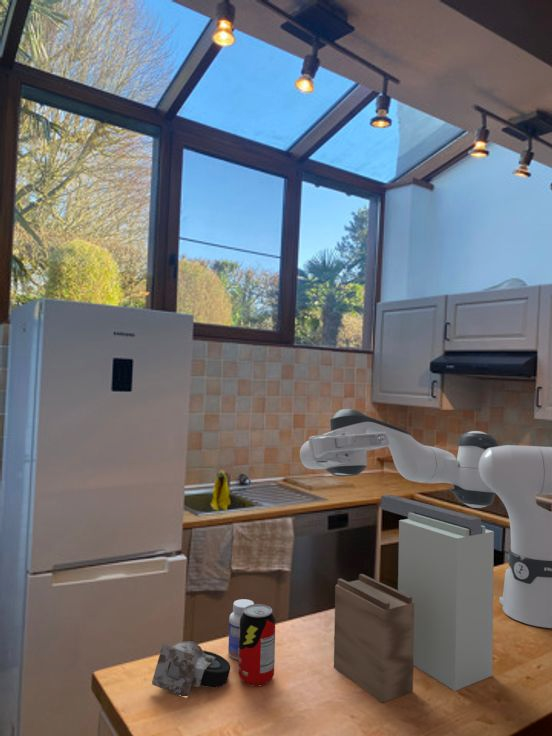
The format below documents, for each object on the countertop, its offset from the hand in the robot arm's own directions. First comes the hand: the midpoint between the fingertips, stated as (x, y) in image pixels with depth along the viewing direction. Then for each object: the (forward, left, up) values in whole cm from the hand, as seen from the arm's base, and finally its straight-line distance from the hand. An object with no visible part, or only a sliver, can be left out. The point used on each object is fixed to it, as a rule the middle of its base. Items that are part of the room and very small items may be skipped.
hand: (369, 437), depth 129 cm
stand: (+5, +27, -40) cm, 49 cm away
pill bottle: (+36, +5, -40) cm, 54 cm away
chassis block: (+20, +24, -40) cm, 51 cm away
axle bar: (+5, +23, -14) cm, 27 cm away
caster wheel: (+48, +10, -40) cm, 63 cm away
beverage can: (+38, +14, -40) cm, 57 cm away
